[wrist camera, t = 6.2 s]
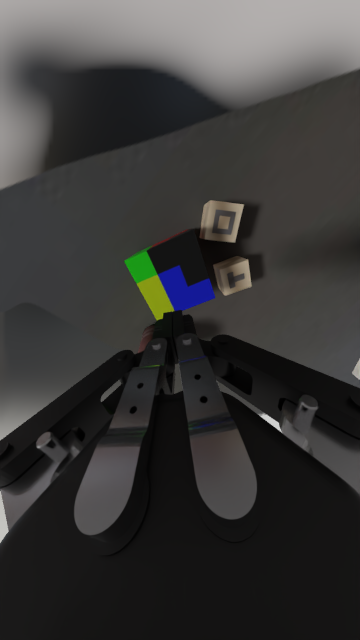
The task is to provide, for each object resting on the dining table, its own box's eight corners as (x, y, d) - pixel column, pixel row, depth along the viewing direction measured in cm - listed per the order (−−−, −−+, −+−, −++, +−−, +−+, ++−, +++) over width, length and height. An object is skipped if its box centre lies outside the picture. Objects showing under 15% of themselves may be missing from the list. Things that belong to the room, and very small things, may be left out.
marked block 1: (232, 208, 27) (244, 204, 23) (225, 240, 30) (235, 242, 25) (203, 205, 27) (210, 199, 22) (199, 238, 29) (204, 239, 25)
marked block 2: (237, 255, 31) (248, 259, 27) (241, 279, 34) (252, 286, 29) (212, 264, 32) (219, 270, 27) (218, 287, 34) (225, 295, 30)
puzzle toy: (203, 280, 33) (215, 297, 25) (160, 298, 35) (157, 320, 26) (186, 229, 29) (193, 228, 20) (137, 252, 30) (124, 261, 21)
